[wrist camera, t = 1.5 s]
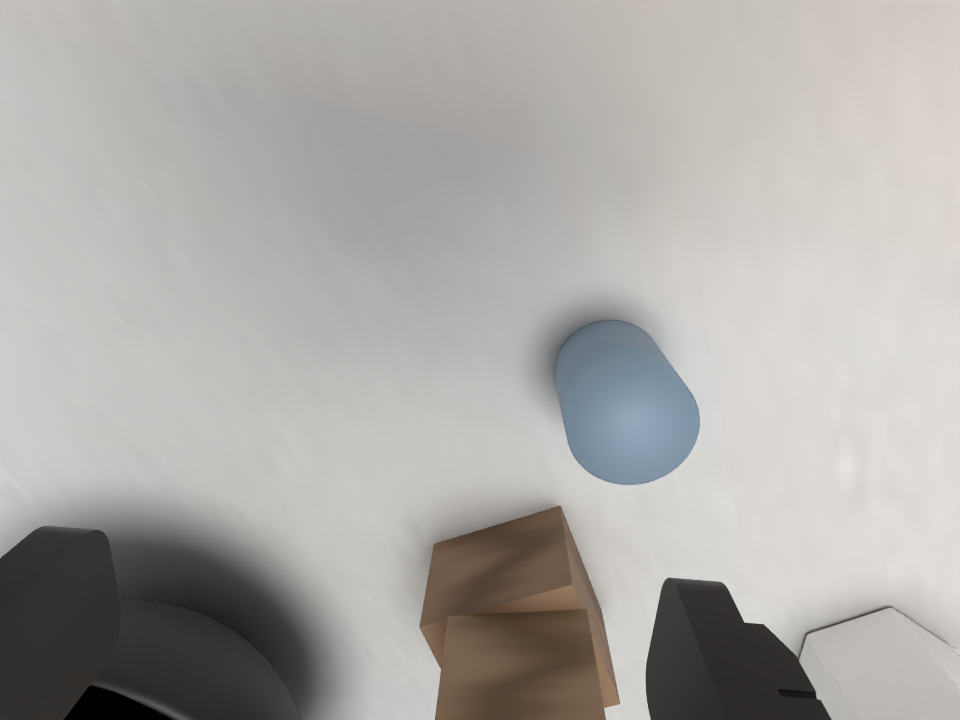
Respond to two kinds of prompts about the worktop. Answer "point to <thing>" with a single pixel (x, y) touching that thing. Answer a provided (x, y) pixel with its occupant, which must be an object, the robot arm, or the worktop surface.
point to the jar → (883, 670)
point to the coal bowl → (182, 672)
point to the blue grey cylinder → (623, 404)
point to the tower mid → (519, 668)
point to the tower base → (514, 582)
